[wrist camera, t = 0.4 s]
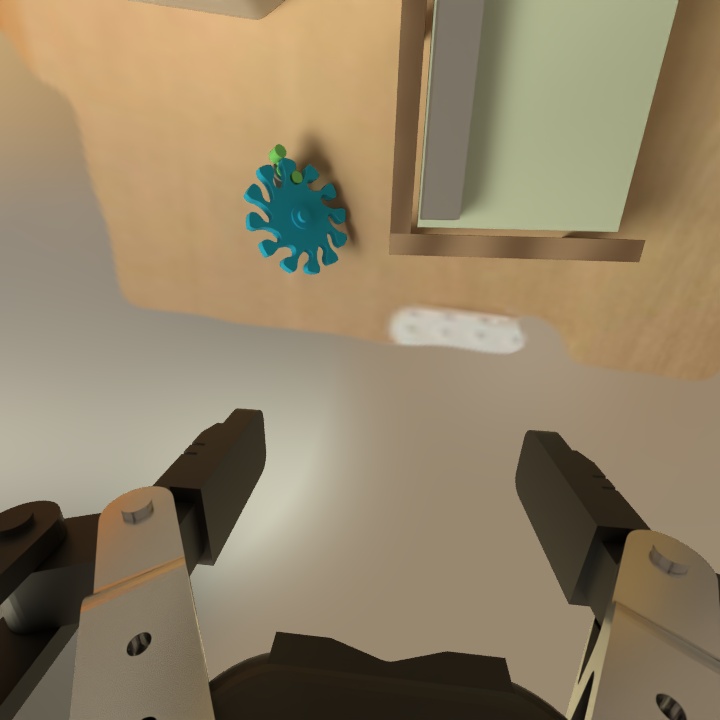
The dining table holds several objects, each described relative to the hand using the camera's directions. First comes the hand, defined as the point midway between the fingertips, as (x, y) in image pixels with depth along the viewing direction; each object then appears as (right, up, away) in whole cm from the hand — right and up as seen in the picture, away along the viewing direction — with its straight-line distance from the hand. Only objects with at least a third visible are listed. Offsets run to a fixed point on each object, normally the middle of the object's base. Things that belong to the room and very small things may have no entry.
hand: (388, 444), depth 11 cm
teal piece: (-6, +17, +25) cm, 31 cm away
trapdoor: (+11, +19, +13) cm, 25 cm away
